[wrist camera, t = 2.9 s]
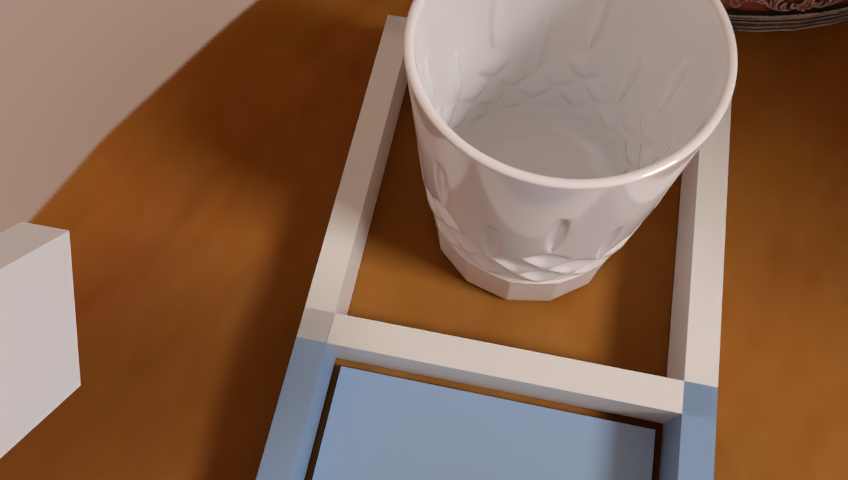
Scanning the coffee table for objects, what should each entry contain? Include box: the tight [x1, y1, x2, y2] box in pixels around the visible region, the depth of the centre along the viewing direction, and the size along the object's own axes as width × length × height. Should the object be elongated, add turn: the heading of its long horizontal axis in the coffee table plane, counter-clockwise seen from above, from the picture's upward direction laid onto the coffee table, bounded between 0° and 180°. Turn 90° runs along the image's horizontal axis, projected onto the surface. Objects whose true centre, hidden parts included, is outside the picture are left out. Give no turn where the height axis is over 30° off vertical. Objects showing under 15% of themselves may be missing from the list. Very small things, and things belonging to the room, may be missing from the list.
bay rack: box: [256, 15, 732, 480], centre depth 23 cm, size 13×25×2 cm, turn 168°
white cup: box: [403, 0, 738, 301], centre depth 21 cm, size 8×8×10 cm
